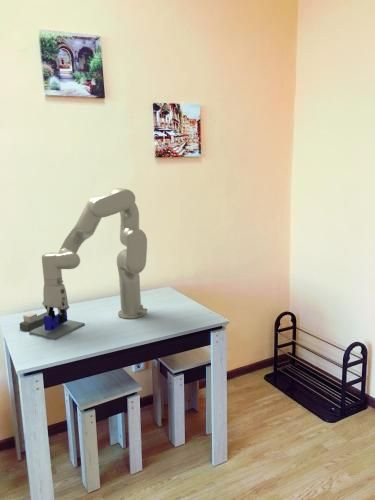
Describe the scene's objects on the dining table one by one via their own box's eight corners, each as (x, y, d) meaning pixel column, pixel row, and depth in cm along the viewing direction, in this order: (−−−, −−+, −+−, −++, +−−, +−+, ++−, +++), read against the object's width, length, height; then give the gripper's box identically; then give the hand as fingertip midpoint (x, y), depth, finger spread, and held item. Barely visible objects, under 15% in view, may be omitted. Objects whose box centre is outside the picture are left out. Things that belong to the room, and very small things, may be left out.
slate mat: (84, 325, 187) (84, 323, 187) (55, 340, 172) (54, 337, 171) (60, 320, 194) (59, 318, 194) (29, 334, 179) (29, 332, 178)
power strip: (55, 319, 195) (54, 307, 194) (28, 331, 182) (26, 318, 180) (47, 317, 198) (46, 305, 197) (20, 329, 184) (18, 316, 183)
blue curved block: (58, 319, 187) (57, 307, 186) (67, 320, 186) (66, 308, 184) (41, 329, 176) (40, 316, 175) (50, 330, 175) (49, 317, 173)
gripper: (74, 281, 178) (77, 321, 181) (45, 277, 186) (49, 315, 189) (61, 285, 171) (65, 327, 175) (32, 281, 179) (36, 321, 183)
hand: (57, 321), depth 182 cm, fingers closed on blue curved block, 5 cm apart
